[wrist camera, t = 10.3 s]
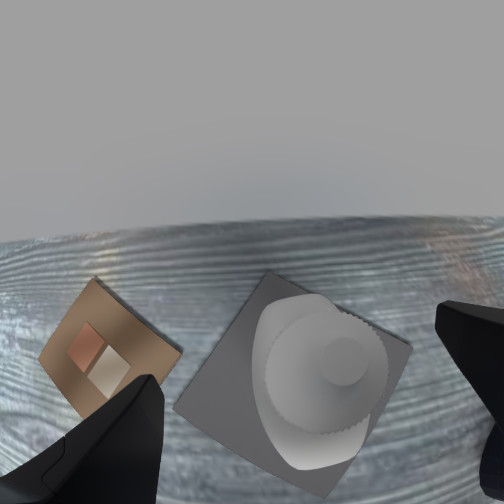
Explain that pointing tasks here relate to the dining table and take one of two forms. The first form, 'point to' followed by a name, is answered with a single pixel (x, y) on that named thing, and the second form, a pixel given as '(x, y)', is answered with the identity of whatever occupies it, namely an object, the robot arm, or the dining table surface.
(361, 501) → the dining table surface
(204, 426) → the mat
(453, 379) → the dining table surface
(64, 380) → the board
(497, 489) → the humidifier
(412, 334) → the dining table surface
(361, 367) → the eye dropper bottle
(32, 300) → the dining table surface
